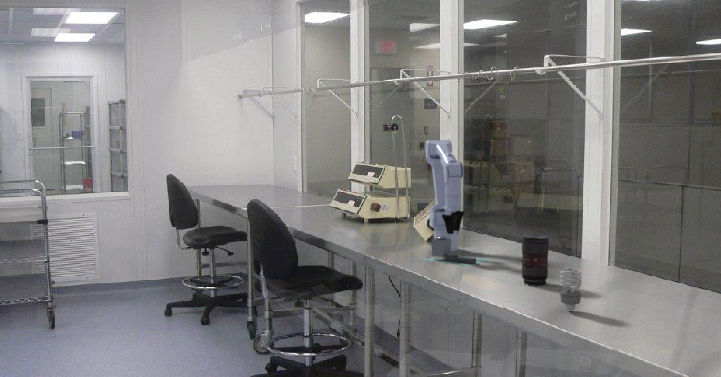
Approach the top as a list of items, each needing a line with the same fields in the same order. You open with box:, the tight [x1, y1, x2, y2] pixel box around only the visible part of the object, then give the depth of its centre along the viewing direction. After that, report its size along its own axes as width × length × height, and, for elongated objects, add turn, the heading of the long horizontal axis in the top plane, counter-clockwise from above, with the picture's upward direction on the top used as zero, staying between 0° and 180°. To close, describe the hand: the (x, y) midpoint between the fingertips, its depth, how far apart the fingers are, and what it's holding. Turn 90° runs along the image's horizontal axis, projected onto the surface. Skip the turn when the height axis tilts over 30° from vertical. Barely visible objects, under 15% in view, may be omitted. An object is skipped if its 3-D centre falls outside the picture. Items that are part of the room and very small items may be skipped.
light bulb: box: [559, 266, 583, 311], centre depth 201 cm, size 6×6×12 cm
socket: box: [431, 237, 452, 257], centre depth 273 cm, size 5×5×7 cm
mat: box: [423, 254, 491, 268], centre depth 273 cm, size 15×20×1 cm
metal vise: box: [432, 253, 477, 265], centre depth 270 cm, size 17×6×4 cm, turn 49°
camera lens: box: [521, 234, 550, 287], centre depth 233 cm, size 8×8×15 cm
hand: (453, 232), depth 276 cm, fingers open, 7 cm apart
